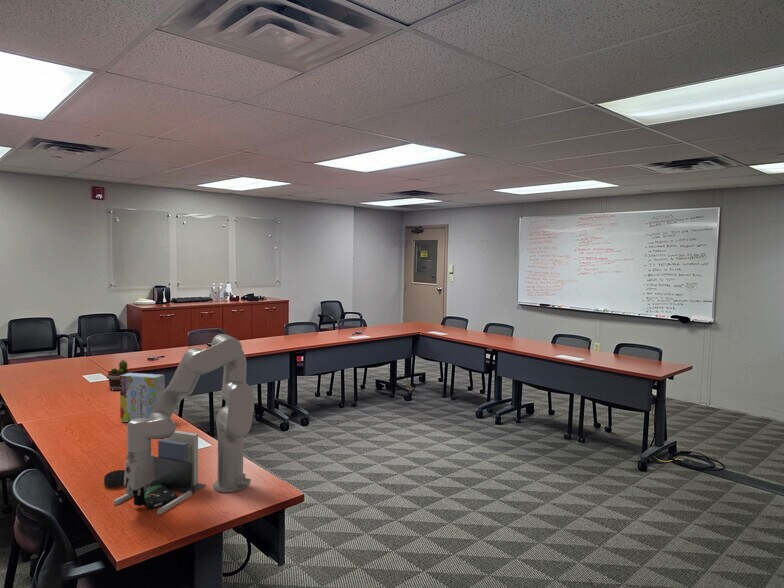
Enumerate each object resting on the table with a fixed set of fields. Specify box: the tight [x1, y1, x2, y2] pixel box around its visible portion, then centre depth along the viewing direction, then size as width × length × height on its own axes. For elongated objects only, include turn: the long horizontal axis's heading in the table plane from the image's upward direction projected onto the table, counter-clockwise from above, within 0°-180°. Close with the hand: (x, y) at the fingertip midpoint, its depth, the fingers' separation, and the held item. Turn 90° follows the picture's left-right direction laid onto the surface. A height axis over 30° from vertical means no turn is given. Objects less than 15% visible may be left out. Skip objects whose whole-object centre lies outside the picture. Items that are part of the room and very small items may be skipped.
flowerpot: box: [106, 358, 132, 391], centre depth 335 cm, size 14×15×20 cm
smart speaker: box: [103, 469, 125, 489], centre depth 198 cm, size 9×9×4 cm
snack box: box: [119, 372, 166, 422], centre depth 271 cm, size 22×9×26 cm, turn 80°
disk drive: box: [142, 483, 179, 511], centre depth 186 cm, size 10×3×15 cm
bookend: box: [151, 455, 207, 495], centre depth 197 cm, size 20×8×12 cm, turn 72°
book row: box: [157, 430, 199, 486], centre depth 197 cm, size 13×7×20 cm, turn 72°
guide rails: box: [113, 483, 193, 515], centre depth 186 cm, size 21×16×2 cm
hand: (139, 504), depth 179 cm, fingers closed
